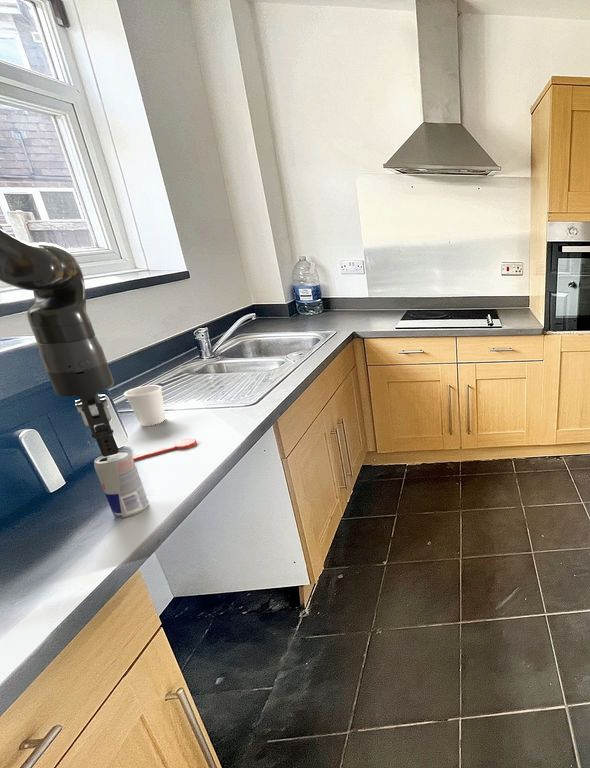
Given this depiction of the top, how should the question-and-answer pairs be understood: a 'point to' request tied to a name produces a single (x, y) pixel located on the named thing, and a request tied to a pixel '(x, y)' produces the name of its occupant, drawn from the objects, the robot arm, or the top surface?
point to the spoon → (169, 448)
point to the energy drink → (121, 484)
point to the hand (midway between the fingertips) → (108, 446)
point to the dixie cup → (147, 404)
